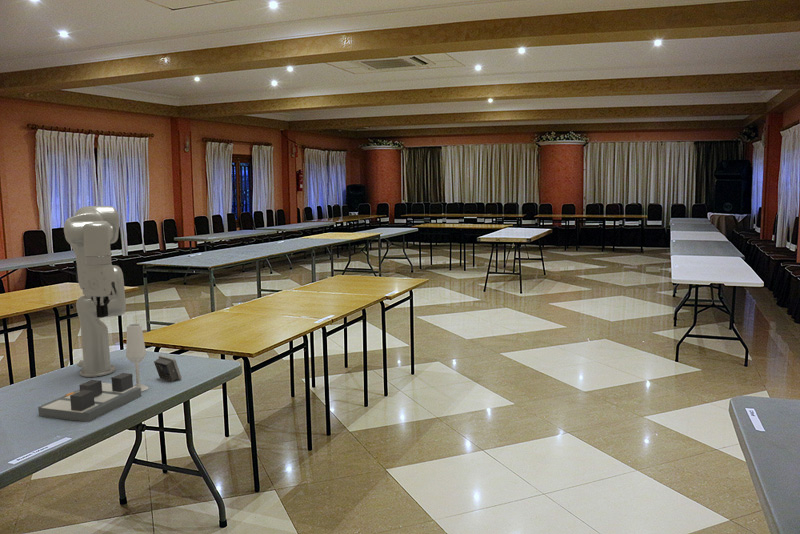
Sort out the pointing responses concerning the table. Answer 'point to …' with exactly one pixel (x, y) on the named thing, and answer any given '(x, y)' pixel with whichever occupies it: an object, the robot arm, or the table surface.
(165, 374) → the electrical switch
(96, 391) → the block
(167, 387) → the table surface
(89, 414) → the breaker panel
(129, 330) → the champagne flute
